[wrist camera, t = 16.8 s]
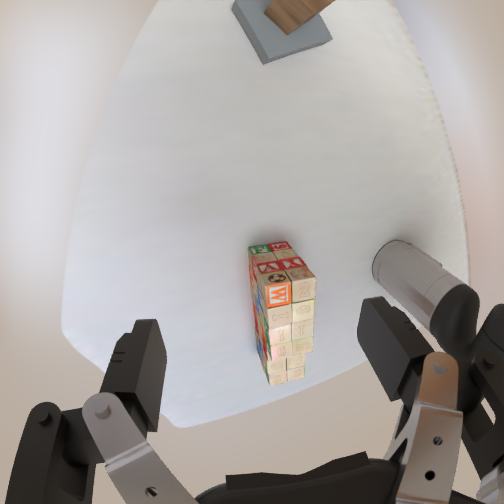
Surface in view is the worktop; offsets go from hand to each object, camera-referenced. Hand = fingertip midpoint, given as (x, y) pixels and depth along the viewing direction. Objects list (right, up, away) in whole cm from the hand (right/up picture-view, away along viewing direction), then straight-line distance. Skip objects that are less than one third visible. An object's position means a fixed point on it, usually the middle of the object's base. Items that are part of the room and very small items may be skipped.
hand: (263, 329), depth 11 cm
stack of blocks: (+3, -5, +38) cm, 39 cm away
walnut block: (+4, +34, +17) cm, 38 cm away
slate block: (+3, +35, +21) cm, 41 cm away
